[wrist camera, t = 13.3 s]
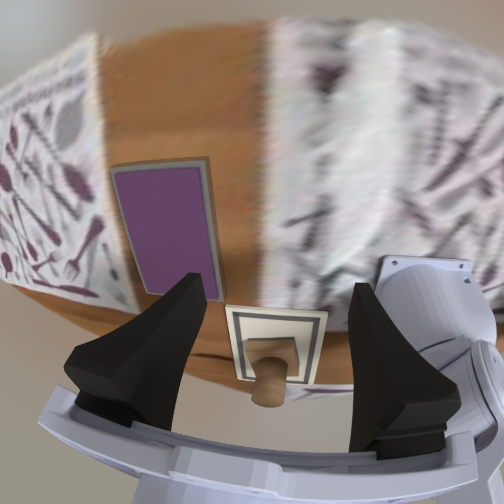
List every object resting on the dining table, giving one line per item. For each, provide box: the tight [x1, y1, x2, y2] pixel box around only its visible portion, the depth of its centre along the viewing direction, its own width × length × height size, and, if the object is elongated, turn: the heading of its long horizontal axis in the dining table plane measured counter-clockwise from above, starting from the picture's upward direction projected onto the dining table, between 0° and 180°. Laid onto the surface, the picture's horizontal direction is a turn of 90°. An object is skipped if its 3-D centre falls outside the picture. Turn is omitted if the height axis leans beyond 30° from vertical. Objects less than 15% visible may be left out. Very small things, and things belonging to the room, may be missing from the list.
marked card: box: [225, 304, 328, 386], centre depth 31 cm, size 10×14×1 cm
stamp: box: [245, 337, 300, 407], centre depth 28 cm, size 5×5×6 cm
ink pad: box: [110, 157, 227, 302], centre depth 24 cm, size 8×13×1 cm, turn 3°
